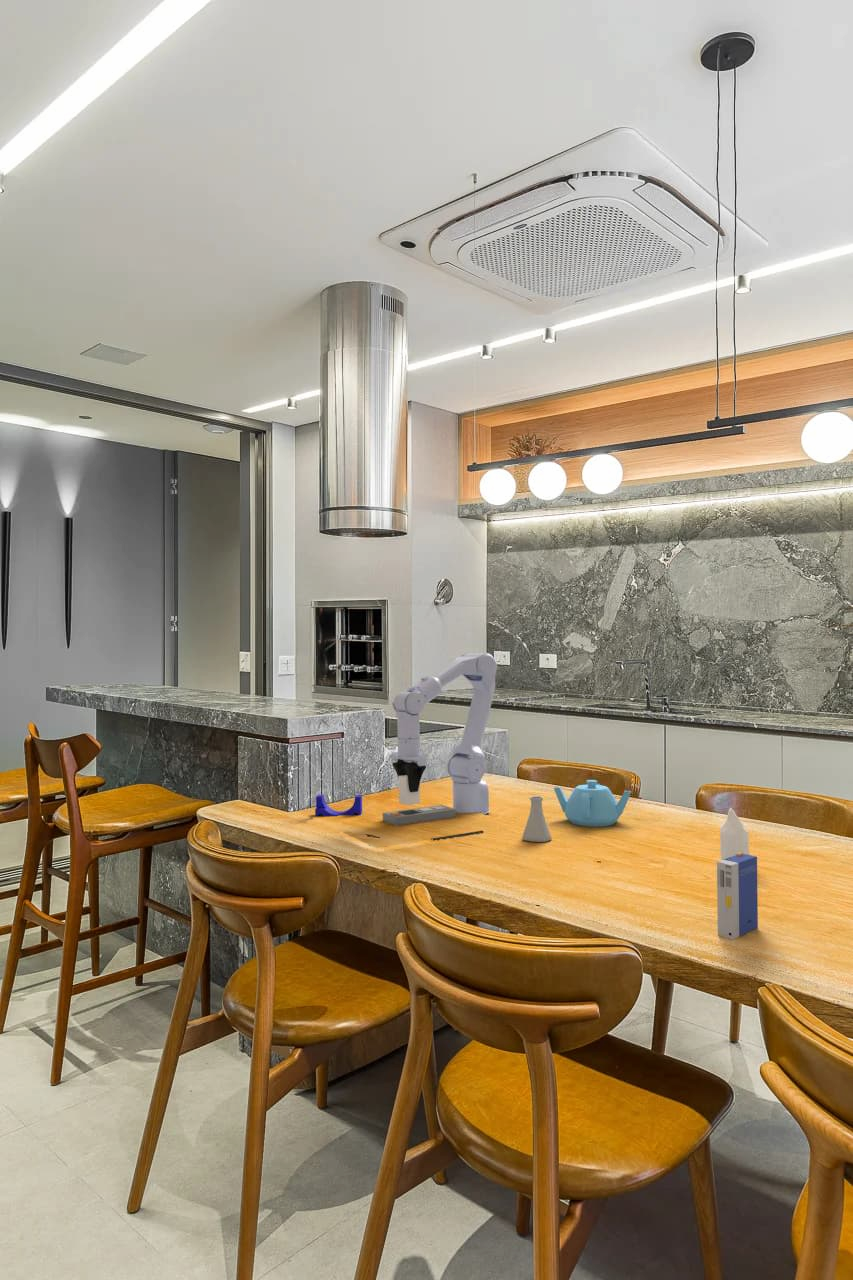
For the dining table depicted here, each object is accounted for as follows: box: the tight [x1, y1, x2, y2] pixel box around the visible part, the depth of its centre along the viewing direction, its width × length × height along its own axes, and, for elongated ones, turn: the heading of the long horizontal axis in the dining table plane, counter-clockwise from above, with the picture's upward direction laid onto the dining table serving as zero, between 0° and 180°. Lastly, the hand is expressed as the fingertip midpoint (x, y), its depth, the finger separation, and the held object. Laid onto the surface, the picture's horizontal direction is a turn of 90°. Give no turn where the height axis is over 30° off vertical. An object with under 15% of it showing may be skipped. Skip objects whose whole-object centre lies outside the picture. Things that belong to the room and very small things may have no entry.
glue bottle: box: [719, 807, 750, 860], centre depth 168 cm, size 6×12×6 cm
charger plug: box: [398, 775, 421, 806], centre depth 211 cm, size 4×4×7 cm
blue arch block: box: [314, 794, 363, 817], centre depth 220 cm, size 12×4×6 cm, turn 86°
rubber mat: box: [431, 830, 484, 841], centre depth 201 cm, size 14×10×1 cm
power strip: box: [382, 804, 457, 826], centre depth 213 cm, size 18×7×3 cm, turn 121°
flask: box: [522, 795, 553, 843], centre depth 194 cm, size 7×7×10 cm
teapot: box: [553, 779, 632, 828], centre depth 212 cm, size 15×15×11 cm
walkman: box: [716, 852, 759, 941], centre depth 131 cm, size 8×3×12 cm, turn 130°
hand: (409, 790), depth 211 cm, fingers closed on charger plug, 4 cm apart
